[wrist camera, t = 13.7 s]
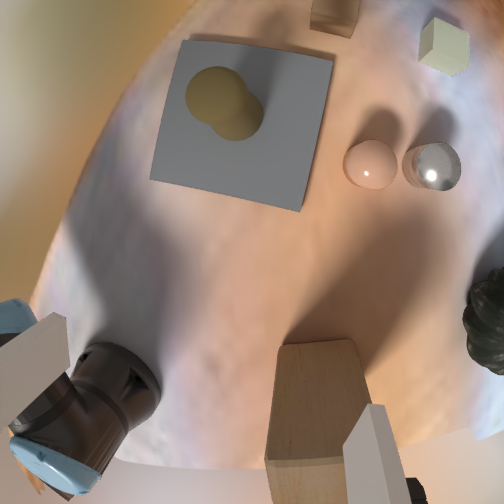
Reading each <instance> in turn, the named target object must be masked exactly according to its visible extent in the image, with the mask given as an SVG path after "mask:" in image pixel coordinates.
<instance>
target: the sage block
mask: <svg viewBox="0 0 504 504" xmlns="http://www.w3.org/2000/svg"><path fill="white" fill-rule="evenodd" d="M469 58H470V34H468V33H466V32H465V31H463V30H461V29H459V28H457V27H455V26H453V25H451V24H449V23H447V22H444V21H442V20H440V19H438V18H436V17H434V18H433V19H432V20H431V21H430V22H429V23H428V24H427V25H426V26H425V28H424V29H423V30H422V31H421V35H420V47H419V58H418V62H419V63H422V64H424V65H427V66H429V67H431V68H434V69H436V70H438V71H440V72H443V73H445V74H447V75H449V76H451V77H452V76H454V75H456V74H457V73H459V72H461V71H463V70H464V69H466V68H468V67H469Z"/></svg>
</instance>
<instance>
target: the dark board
mask: <svg viewBox="0 0 504 504" xmlns="http://www.w3.org/2000/svg"><path fill="white" fill-rule="evenodd" d="M213 66H222V67H226V68H229V69H232V70H234V71H235V72H237V73H238V74H239V75H240V76H241V77H242V79H243V80H244V82H245V84H246V86H247V91H248V92H250V93H251V94H253V95H254V96H255V97H256V98H257V99H258V100H259V102H260V103H261V105H262V108H263V114H264V115H263V121H262V124H261V126H260V128H259V130H258V131H257V132H256V133H255V134H254V135H253V136H251V137H249V138H247V139H245V140H241V141H230V140H226V139H224V138H222V137H220V136H219V135H218V134H217V133H216V132H215V131H214V130H213V128H212V127H211V125H209V124H206V123H203V122H201V121H199V120H197V119H196V118H195V117H194V116H193V115H192V114H191V113H190V111H189V109H188V107H187V105H186V99H185V93H186V88H187V86H188V84H189V82H190V80H191V79H192V78H193V77H194V76H195V75H196V74H197V73H198V72H200V71H202V70H203V69H205V68H209V67H213ZM332 66H333V61H329V60H325V59H321V58H317V57H312V56H308V55H303V54H298V53H293V52H288V51H283V50H277V49H271V48H265V47H258V46H251V45H243V44H234V43H224V42H212V41H197V40H183V41H182V44H181V48H180V51H179V54H178V58H177V61H176V65H175V68H174V72H173V75H172V79H171V83H170V87H169V90H168V94H167V98H166V102H165V107H164V111H163V115H162V119H161V124H160V128H159V133H158V138H157V142H156V147H155V152H154V157H153V163H152V168H151V173H150V180H155V181H161V182H166V183H171V184H176V185H181V186H186V187H190V188H195V189H200V190H205V191H210V192H214V193H219V194H223V195H228V196H232V197H237V198H241V199H246V200H250V201H254V202H259V203H263V204H267V205H271V206H276V207H280V208H284V209H288V210H292V211H296V212H300V210H301V206H302V202H303V198H304V194H305V190H306V185H307V181H308V177H309V173H310V168H311V164H312V160H313V155H314V151H315V146H316V142H317V137H318V133H319V128H320V124H321V119H322V115H323V110H324V105H325V100H326V96H327V91H328V86H329V81H330V76H331V71H332Z"/></svg>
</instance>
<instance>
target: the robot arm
mask: <svg viewBox="0 0 504 504" xmlns="http://www.w3.org/2000/svg"><path fill="white" fill-rule="evenodd" d="M69 367H70V359H69V349H68V339H67V326H66V317H63V316H61V315H59V314H57V313H55V312H53V313H52V314H50V315H48V316H47V317H45V318H44V319H42V320H41V321H39V322H38V321H37V319H36V317H35V315H34V313H33V312H32V310H31V308H30V306H29V304H28V303H27V302H26V301H24V300H22V299H20V298H14V299H10V300H7V301H4V302H1V303H0V433H1V431H3V430H4V429H5V428H6V427H7V426H8V427H9V428H10V429H11V431H12V432H13V434H14V436H13V437H11V439H10V443H9V446H10V449H11V450H12V452H13V454H14V455H15V457H16V458H17V459H18V460H19V461H20V462H21V463H22V464H23V465H24V466H25V467H26V468H27V469H28V470H30V471H31V472H32V473H33V474H35V475H36V476H37V477H39V478H40V479H42V480H43V481H45V482H46V483H48V484H50V485H51V486H53V487H55V488H57V489H59V490H61V491H64V492H66V493H69V494H73V495H85V494H87V493H89V492H90V491H91V489H92V488H93V486H94V485H95V484H96V483H97V481H98V480H100V479H101V477H102V474H103V472H104V471H105V469H106V468H107V466H108V464H109V462H110V461H111V459H112V458H113V456H114V454H115V453H116V451H117V449H118V448H119V446H120V445H121V443H122V441H123V440H124V438H125V437H126V435H127V434H128V432H129V431H131V430H132V429H134V428H135V427H137V426H138V425H140V424H141V423H143V422H144V421H145V420H147V419H148V418H150V417H151V415H152V414H153V413H154V411H155V410H156V408H157V406H158V404H159V401H160V390H159V386H158V383H157V381H156V379H155V377H154V375H153V374H152V372H151V371H150V369H149V368H148V367H147V366H146V365H145V364H144V363H143V362H142V361H141V360H140V359H139V358H138V357H137V356H135V355H134V354H133V353H131V352H130V351H128V350H126V349H125V348H123V347H120V346H118V345H115V344H111V343H96V344H93V345H91V346H90V347H88V348H87V349H86V350H85V351H84V352H83V353H82V354H81V355H80V357H79V358H78V360H77V363H76V365H75V368H74V370H73V372H72V375H71V377H70V378H69V377H68V375H67V374H66V372H65V371H66V370H67V369H68V368H69ZM343 455H344V465H345V475H346V485H347V496H348V504H428V502H427V501H426V499H427V498H426V495H425V491H424V488H423V486H422V485H421V484H420V482H419V481H418V480H417V478H405V475H404V471H403V467H402V464H401V460H400V456H399V453H398V449H397V446H396V442H395V439H394V435H393V432H392V429H391V425H390V422H389V419H388V416H387V412H386V409H385V406H384V405H377V404H369V403H368V404H367V406H366V408H365V409H364V411H363V413H362V415H361V416H360V418H359V420H358V422H357V423H356V425H355V427H354V428H353V430H352V432H351V433H350V435H349V437H348V438H347V440H346V441H345V443H344V445H343Z"/></svg>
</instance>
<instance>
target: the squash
mask: <svg viewBox="0 0 504 504" xmlns="http://www.w3.org/2000/svg"><path fill="white" fill-rule="evenodd" d="M470 297H471V303H470V304H468V305H467V306H466V308H465V310H464V313H463V318H462V319H463V324H464V327H465V329H466V331H467V350H468V353H469V355H470V357H471V358H472V359H473V360H474V361H476V362H477V363H478V364H480V365H481V366H483V367H487V368H488V369H489V370H490V371H491V372H493V373H495V374H497V375H504V267H503V268H502V269H494V270H493V271H491V273H490V275H489V277H488V279H487V281H482V282H478V283H476V284H475V285H474V286H473V287H472V288H471V294H470Z"/></svg>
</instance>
